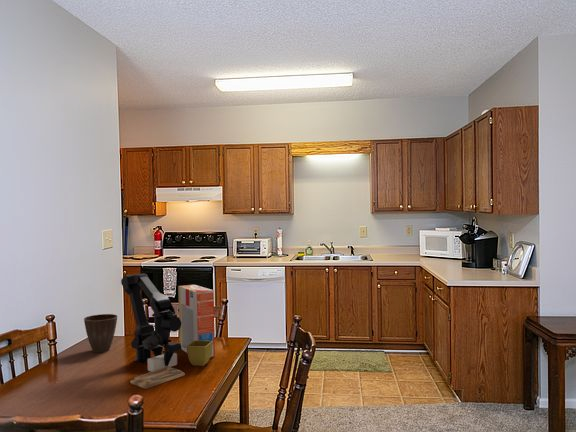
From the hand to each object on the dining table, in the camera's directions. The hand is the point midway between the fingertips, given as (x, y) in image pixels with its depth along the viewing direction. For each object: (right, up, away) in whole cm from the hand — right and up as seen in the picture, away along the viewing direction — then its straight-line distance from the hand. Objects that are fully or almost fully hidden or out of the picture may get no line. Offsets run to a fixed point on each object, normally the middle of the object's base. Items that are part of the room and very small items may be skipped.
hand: (162, 364), depth 198 cm
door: (0, -1, 0) cm, 1 cm away
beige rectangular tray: (+2, -1, -14) cm, 15 cm away
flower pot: (+15, -1, +3) cm, 16 cm away
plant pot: (-37, -2, +28) cm, 46 cm away
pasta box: (+10, -1, +21) cm, 24 cm away
